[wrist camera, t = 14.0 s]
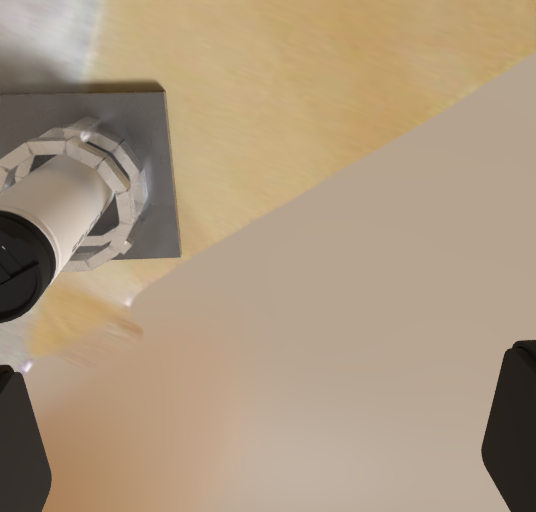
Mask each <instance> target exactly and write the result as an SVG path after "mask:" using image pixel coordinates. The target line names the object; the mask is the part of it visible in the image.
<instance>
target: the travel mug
mask: <svg viewBox="0 0 536 512" xmlns="http://www.w3.org/2000/svg"><path fill="white" fill-rule="evenodd" d="M114 197H115V193H114V192H113V191H112V189H111V188H110V187H109V186H108V184H107V183H106V182H105V180H104V179H103V178H102V177H101V175H100V174H99V173H98V172H97V170H96V169H95V168H92V167H90V166H88V165H86V164H84V163H82V162H80V161H78V160H76V159H74V158H72V157H70V156H68V155H66V154H58V155H56V156H55V157H53V158H52V159H50V160H49V161H47V162H46V163H44V164H43V165H41V166H40V167H39V168H37V169H36V170H34V171H33V172H31V173H30V174H28V175H27V176H25V177H24V178H22V179H21V180H20V181H18V182H17V183H15V184H14V185H12V186H11V187H9V188H8V189H6V190H5V191H3V192H2V193H1V194H0V323H3V322H7V321H11V320H14V319H16V318H18V317H20V316H22V315H23V314H25V313H26V312H28V311H29V310H30V309H31V308H32V307H33V306H34V304H35V303H36V302H37V300H38V299H39V298H40V296H41V295H42V294H43V292H44V291H45V290H46V289H47V288H48V287H49V285H50V284H51V283H52V282H53V280H54V279H55V278H56V276H57V275H58V274H59V272H60V271H61V270H62V268H63V267H64V266H65V264H66V263H67V262H68V260H69V259H70V257H71V256H72V255H73V253H74V252H75V251H76V249H77V248H78V247H79V245H80V244H81V243H82V241H83V240H84V238H85V237H86V236H87V234H88V233H89V232H90V230H91V229H92V228H93V226H94V225H95V224H96V222H97V221H98V219H99V218H100V217H101V215H102V214H103V213H104V211H105V210H106V209H107V207H108V206H109V205H110V203H111V202H112V200H113V199H114Z"/></svg>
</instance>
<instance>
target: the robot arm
mask: <svg viewBox="0 0 536 512" xmlns="http://www.w3.org/2000/svg"><path fill="white" fill-rule="evenodd" d="M481 451H482V458H483V462H484V465H485V467H486V469H487V471H488V472H489V474H490V476H491V478H492V479H493V481H494V483H495V485H496V487H497V488H498V490H499V492H500V494H501V495H502V497H503V499H504V500H505V502H506V504H507V506H508V508H509V509H510V511H511V512H536V340H526V341H517V342H515V343H514V345H513V347H512V349H508V350H507V351H506V352H505V354H504V358H503V362H502V366H501V370H500V375H499V378H498V382H497V387H496V391H495V395H494V399H493V403H492V407H491V411H490V415H489V419H488V424H487V428H486V431H485V436H484V440H483V444H482V449H481ZM51 480H52V479H51V470H50V467H49V463H48V460H47V457H46V453H45V450H44V446H43V443H42V440H41V436H40V433H39V429H38V426H37V422H36V419H35V416H34V412H33V409H32V405H31V402H30V399H29V395H28V392H27V388H26V385H25V382H24V378H23V376H22V374H21V373H20V372H14V370H13V368H12V367H11V366H10V365H0V512H42V509H43V507H44V504H45V502H46V499H47V497H48V494H49V491H50V487H51Z"/></svg>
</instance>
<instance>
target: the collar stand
mask: <svg viewBox="0 0 536 512" xmlns="http://www.w3.org/2000/svg"><path fill="white" fill-rule="evenodd" d="M58 154H66V155H68V156H70V157H72V158H74V159H76V160H78V161H80V162H82V163H84V164H86V165H88V166H90V167H92V168H95V169H96V170H97V172H98V173H99V174H100V175H101V177H102V178H103V179H104V180H105V182H106V183H107V184H108V186H109V187H110V188H111V189H112V191H113V192H114V193H115V197H114V199H113V200H112V202H111V203H110V205H109V206H108V207H107V209H106V210H105V211H104V213H103V214H102V215H101V217H100V218H99V219H98V221H97V222H96V224H95V225H94V226H93V228H92V229H91V230H90V232H89V233H88V234H87V236H86V237H85V238H84V240H83V241H82V243H81V244H80V245H79V247H78V248H77V249H76V251H75V252H74V253H73V255H72V256H71V257H70V259H69V260H68V262H67V263H66V264H65V266H64V267H63V268H62V270H61V271H60V272H79V271H91V270H94V269H95V268H97V267H99V266H100V265H102V264H104V263H105V262H107V261H109V260H123V259H150V258H177V257H181V253H182V251H181V241H180V231H179V221H178V211H177V201H176V191H175V181H174V171H173V161H172V151H171V141H170V131H169V121H168V111H167V101H166V91H146V92H97V93H48V94H0V194H1V193H2V192H3V191H5V190H6V189H8V188H9V187H11V186H12V185H14V184H15V183H17V182H18V181H20V180H21V179H22V178H24V177H25V176H27V175H28V174H30V173H31V172H33V171H34V170H36V169H37V168H39V167H40V166H41V165H43V164H44V163H46V162H47V161H49V160H50V159H52V158H53V157H55V156H56V155H58Z"/></svg>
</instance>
